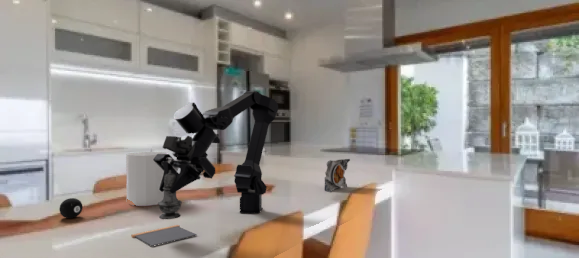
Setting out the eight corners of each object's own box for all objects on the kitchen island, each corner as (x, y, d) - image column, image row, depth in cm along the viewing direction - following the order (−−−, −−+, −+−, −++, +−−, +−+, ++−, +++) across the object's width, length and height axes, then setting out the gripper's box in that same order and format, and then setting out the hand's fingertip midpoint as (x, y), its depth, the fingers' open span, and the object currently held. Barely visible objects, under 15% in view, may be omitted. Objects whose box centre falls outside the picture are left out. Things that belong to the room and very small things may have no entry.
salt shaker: (181, 218, 90) (181, 171, 90) (156, 220, 89) (156, 171, 88) (182, 212, 96) (182, 167, 95) (159, 213, 94) (159, 168, 94)
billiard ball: (74, 214, 115) (74, 195, 115) (86, 216, 113) (86, 197, 113) (55, 218, 110) (55, 199, 110) (67, 221, 107) (67, 201, 107)
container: (143, 208, 125) (142, 156, 124) (118, 203, 132) (118, 154, 132) (176, 200, 137) (176, 153, 136) (152, 196, 144) (151, 151, 144)
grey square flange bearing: (332, 192, 152) (332, 161, 152) (324, 191, 155) (324, 161, 155) (350, 187, 164) (350, 158, 164) (341, 186, 167) (342, 158, 167)
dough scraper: (131, 236, 94) (131, 234, 93) (177, 226, 103) (177, 224, 103) (149, 247, 86) (149, 245, 86) (198, 235, 95) (198, 233, 95)
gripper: (158, 124, 100) (122, 169, 91) (207, 125, 90) (171, 175, 81) (181, 150, 107) (149, 194, 98) (228, 154, 97) (198, 203, 88)
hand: (165, 191), depth 91 cm, fingers closed on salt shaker, 4 cm apart
